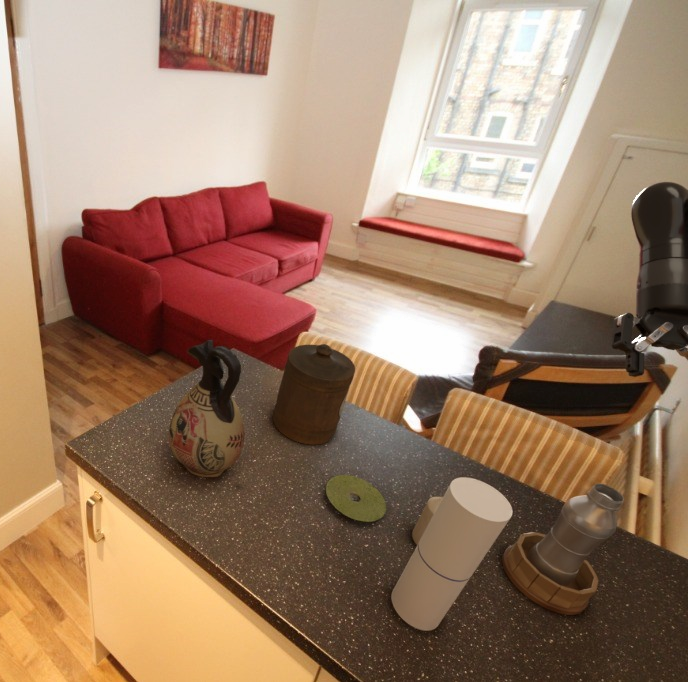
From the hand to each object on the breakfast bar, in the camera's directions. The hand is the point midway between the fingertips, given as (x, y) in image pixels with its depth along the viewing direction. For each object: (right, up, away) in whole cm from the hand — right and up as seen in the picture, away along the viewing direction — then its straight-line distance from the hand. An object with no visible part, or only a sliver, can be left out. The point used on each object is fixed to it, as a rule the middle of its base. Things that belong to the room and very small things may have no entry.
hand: (667, 381), depth 72 cm
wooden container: (-49, -14, +35) cm, 62 cm away
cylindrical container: (-42, -36, -2) cm, 55 cm away
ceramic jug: (-74, -20, +21) cm, 79 cm away
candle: (-34, -30, +9) cm, 46 cm away
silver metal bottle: (-17, -33, +4) cm, 38 cm away
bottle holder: (-17, -34, +4) cm, 38 cm away
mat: (-45, -26, +15) cm, 54 cm away
